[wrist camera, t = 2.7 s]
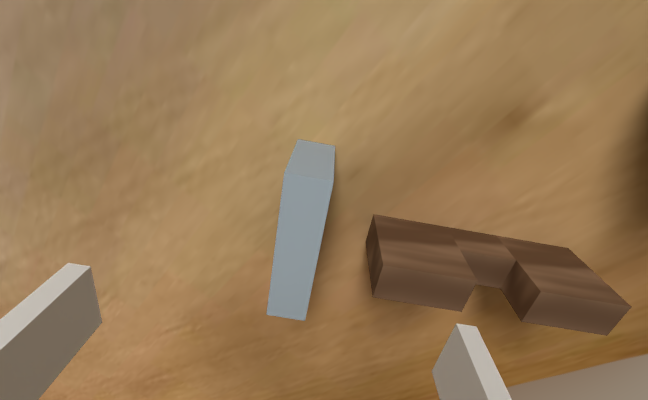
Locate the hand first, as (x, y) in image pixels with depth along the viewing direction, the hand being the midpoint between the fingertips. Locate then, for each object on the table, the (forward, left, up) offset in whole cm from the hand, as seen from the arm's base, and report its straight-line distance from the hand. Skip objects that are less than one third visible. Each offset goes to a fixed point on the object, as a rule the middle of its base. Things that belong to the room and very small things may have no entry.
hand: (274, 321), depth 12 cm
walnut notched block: (+5, +15, -16) cm, 23 cm away
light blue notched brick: (+4, 0, -16) cm, 17 cm away
